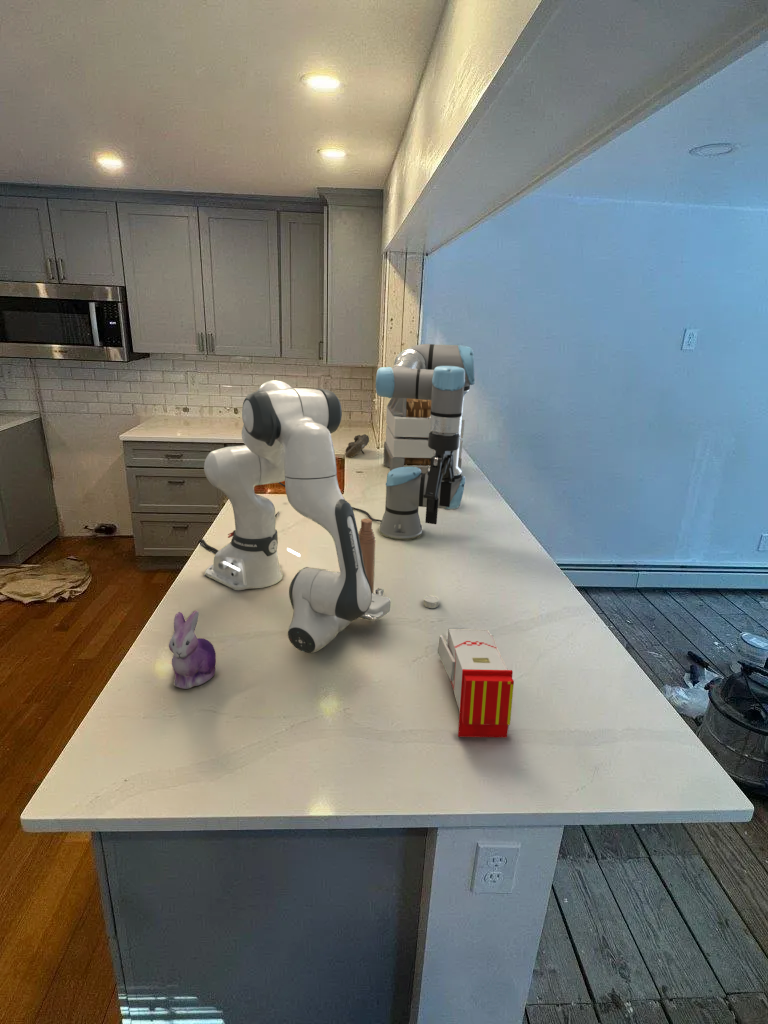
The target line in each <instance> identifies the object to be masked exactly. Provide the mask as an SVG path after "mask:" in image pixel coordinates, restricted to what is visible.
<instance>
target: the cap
mask: <svg viewBox="0 0 768 1024" xmlns="http://www.w3.org/2000/svg"><path fill="white" fill-rule="evenodd" d="M439 603H440V599H439V598H438V597H437V596H435V595H426V596H424V598H423V606H425V608H428V609H435V608H438V607H439Z"/></svg>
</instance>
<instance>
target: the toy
mask: <svg viewBox="0 0 768 1024" xmlns="http://www.w3.org/2000/svg"><path fill="white" fill-rule="evenodd" d="M446 640H447V643H446V641H445V639H444V636H443V635H442V634H439V637H438V646H437V656H438V657H439V659H440V661H441V663H442V666H443V668H444V670H445V672H446V674H447V677H448V679H449V681H450V684H451V687H452V690H453V693H454V697H455V701H456V705H457V708H458V711H459V714H458V715H459V716H458V730H457V731H458V732H457V737H458V738H508V731H509V726H510V725H511V717H512V707H513V697H514V696H513V695H514V684H515V680H514V679H513V673H514V671H513V670H512V669H508V667H507V665H506V662H505V661H504V659H503V658H502V655H501V653H500V651H499V649H498V647H497V643H496V639H495V637H494V635H493V634H491V632H490V631H489V629H467V628H466V629H465V628H463V629H461V628H460V629H459V628H448V630H447V639H446Z"/></svg>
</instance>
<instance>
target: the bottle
mask: <svg viewBox="0 0 768 1024" xmlns="http://www.w3.org/2000/svg"><path fill="white" fill-rule="evenodd" d="M372 526H373V520H371V519H370V518H369V517H368V518H366V517H365V518H362V519H361V520H360V528H359V530H358V535H359V540H360V546H361V551H362V556H363V562H364V567H365V572H366V575H367V578H368V580H369V583H370V586H371V591H372V593H374V590H375V589H374V587H375V586H374V585H375V564H376V563H375V562H376V541H377V540H376V537H375V533H374V531H373V527H372Z"/></svg>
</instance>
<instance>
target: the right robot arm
mask: <svg viewBox="0 0 768 1024" xmlns="http://www.w3.org/2000/svg"><path fill="white" fill-rule="evenodd" d="M474 352H475V351H474V349H473V348H472V347H470V346H466V345H460V344H436V343H435V344H434V343H433V344H432V343H421V344H420V343H419V344H416V345H413V346H409V347H406V348H404V349H403V350H402V351H400V352H399V353H398V354H397V356H396V357H395V359H394V364H393V366H392V367H391V366H381V367H379V368H377V371H376V376H375V394H376V395H377V396H378V397H382V398H388V399H391V398H408V399H422V400H431V413H430V417H428V420H429V421H430V428H429V429H430V430H431V432H430V433H429V439H428V446H429V448H431V449H433V457H431V463H430V466H428V468H427V472H422V469H421V468H420V467H419V466H418V467H417V466H404V467H400V468H396V469H393V470H391V471H390V470H389V471H388V473H387V475H386V482H385V487H386V488H385V504H384V505H385V507H384V508H385V509H384V513H383V515H382V519H376V518H374V517H372V516H371V515H370V513H369V512H367V511H366V510H364V509H361V508H358V507H354V506H351V507H352V509H353V510H354V511H359V512H362V513H364V514H366V515H367V517H368V519H371V520H372V522H379V526H378V533H379V534H380V535H381V536H382V537H385V538H387V539H389V540H395V541H410V540H415V539H418V538H420V537H421V536H422V535H423V525H422V524H421V518H420V515H419V508H420V507H421V508H422V507H423V508H425V521H424V522H425V524H430V525H435V526H436V525H437V524H438V511H439V509H443V510H456V509H458V508H459V507H460V506H461V502H462V499H463V495H464V490H465V484H466V476H464V475H463V474H462V473H463V471H462V468H461V469H460V468H459V467H458V459H459V448H460V439H461V438H460V437H461V426H462V419H463V414H464V403H465V395H467V393H468V392H470V388H471V386H474V385H475V383H476V376H475V373H476V372H475V353H474ZM278 484H279V485H280V486H283V488H285V483H284V484H283V482H279V483H278Z"/></svg>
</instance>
